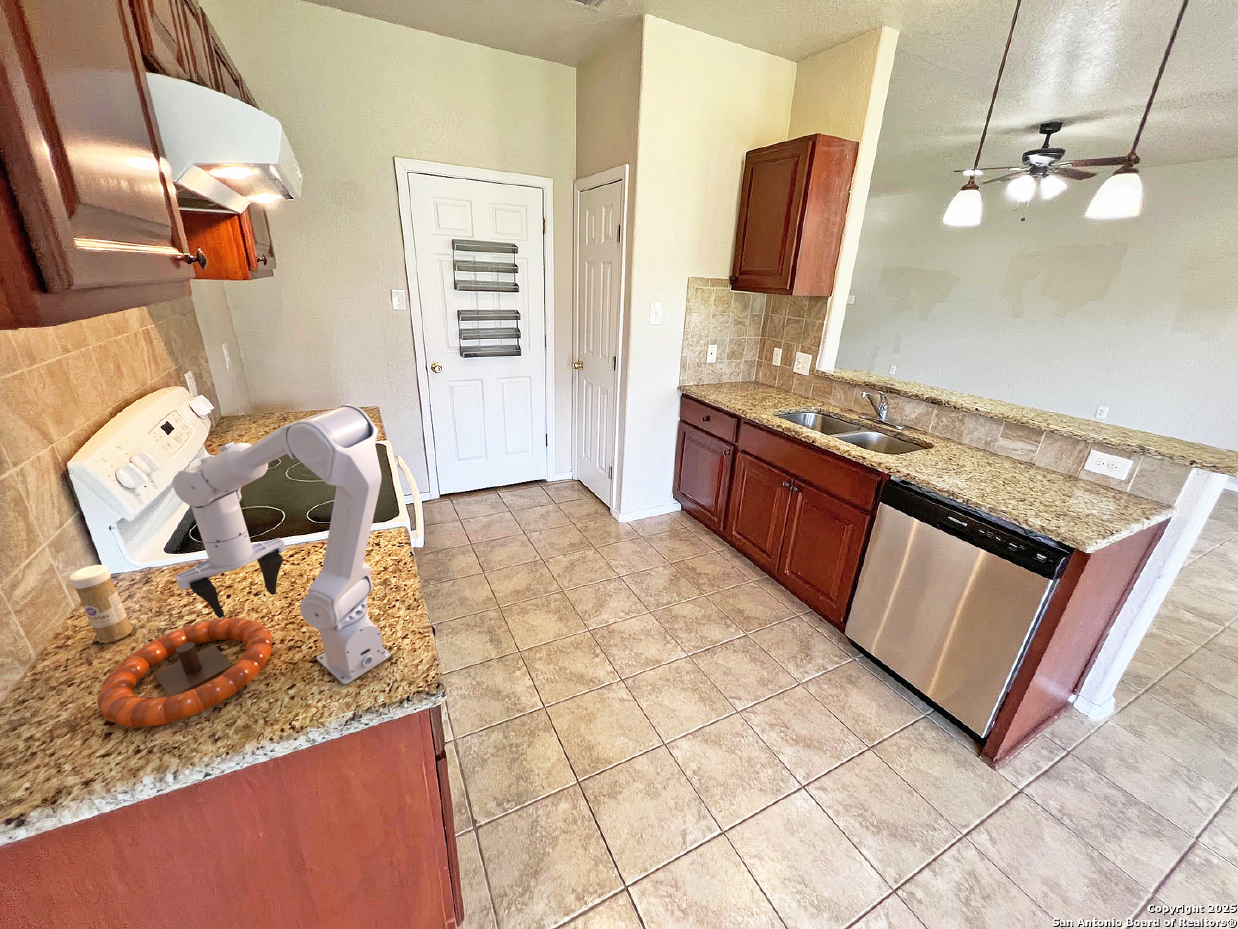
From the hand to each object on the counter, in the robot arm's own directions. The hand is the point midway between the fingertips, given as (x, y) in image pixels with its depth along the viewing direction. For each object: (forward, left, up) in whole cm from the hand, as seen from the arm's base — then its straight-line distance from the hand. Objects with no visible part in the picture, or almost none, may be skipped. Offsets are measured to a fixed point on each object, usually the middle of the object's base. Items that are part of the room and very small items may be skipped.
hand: (246, 603), depth 83 cm
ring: (-1, +9, -6) cm, 11 cm away
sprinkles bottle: (+21, +14, -8) cm, 27 cm away
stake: (-1, +9, -8) cm, 12 cm away
